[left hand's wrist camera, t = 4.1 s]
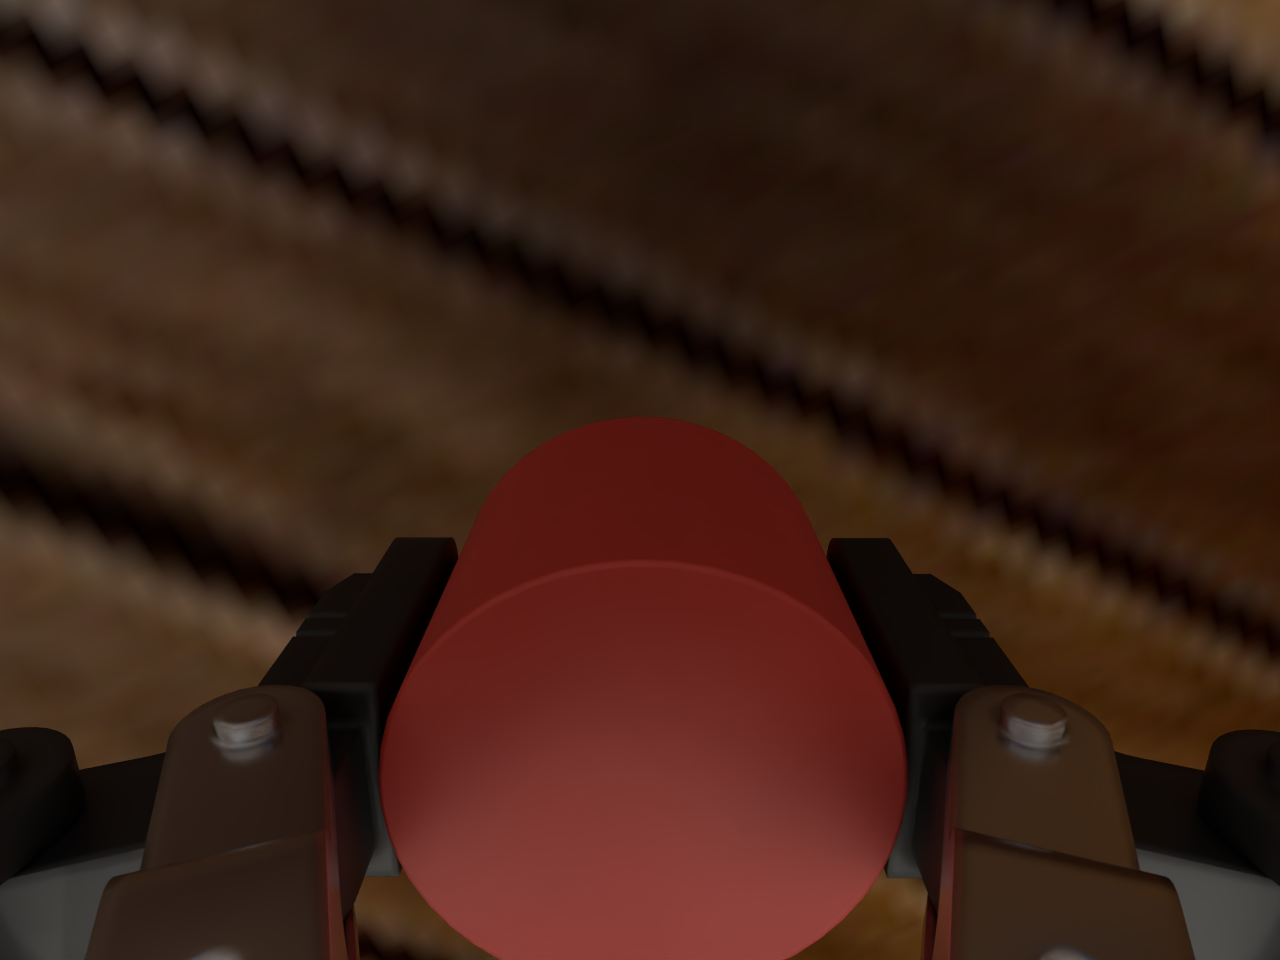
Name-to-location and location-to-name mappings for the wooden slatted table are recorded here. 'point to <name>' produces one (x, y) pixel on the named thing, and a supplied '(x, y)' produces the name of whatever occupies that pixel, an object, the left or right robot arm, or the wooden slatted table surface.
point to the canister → (643, 714)
